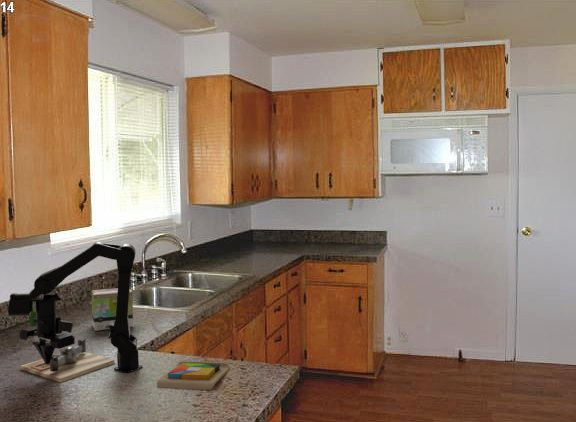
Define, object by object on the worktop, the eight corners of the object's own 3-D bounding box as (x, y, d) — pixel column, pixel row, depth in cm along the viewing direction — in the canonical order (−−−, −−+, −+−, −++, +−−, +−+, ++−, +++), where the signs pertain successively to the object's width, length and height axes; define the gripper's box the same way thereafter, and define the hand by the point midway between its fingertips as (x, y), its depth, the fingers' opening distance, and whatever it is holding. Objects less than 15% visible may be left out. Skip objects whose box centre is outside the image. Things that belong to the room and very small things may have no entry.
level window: (57, 365, 186) (56, 364, 186) (41, 371, 181) (41, 369, 181) (46, 362, 189) (46, 361, 189) (31, 367, 184) (30, 366, 184)
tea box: (94, 332, 228) (93, 294, 227) (92, 325, 237) (90, 289, 236) (133, 327, 234) (132, 290, 233) (130, 321, 243) (128, 286, 242)
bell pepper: (42, 331, 230) (40, 306, 229) (25, 330, 232) (23, 305, 231) (56, 326, 237) (55, 301, 237) (40, 324, 240) (39, 300, 239)
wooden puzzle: (230, 369, 185) (230, 358, 185) (213, 391, 167) (213, 379, 167) (178, 367, 188) (177, 356, 188) (155, 389, 170) (155, 377, 169)
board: (114, 363, 191) (114, 359, 191) (60, 382, 175) (60, 378, 174) (75, 352, 203) (74, 349, 203) (20, 369, 186) (20, 365, 186)
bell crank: (90, 351, 198) (90, 338, 198) (60, 373, 178) (59, 358, 178) (59, 351, 199) (58, 337, 199) (25, 372, 179) (24, 357, 179)
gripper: (88, 313, 181) (89, 361, 183) (48, 304, 190) (50, 351, 192) (58, 321, 171) (59, 373, 173) (18, 312, 181) (19, 361, 182)
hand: (47, 364), depth 180 cm, fingers closed
